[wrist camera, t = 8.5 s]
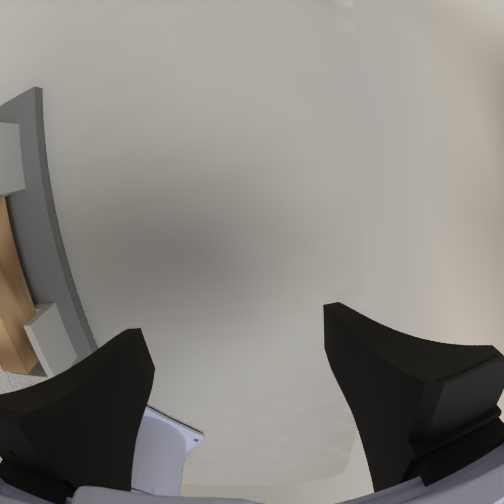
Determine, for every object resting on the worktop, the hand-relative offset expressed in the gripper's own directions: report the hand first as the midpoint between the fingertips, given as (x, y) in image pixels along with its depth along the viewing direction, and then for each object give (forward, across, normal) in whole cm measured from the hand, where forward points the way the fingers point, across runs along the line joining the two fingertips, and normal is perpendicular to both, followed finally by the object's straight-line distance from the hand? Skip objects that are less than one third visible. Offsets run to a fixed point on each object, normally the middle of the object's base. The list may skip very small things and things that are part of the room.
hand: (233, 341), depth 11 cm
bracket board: (+9, +18, -4) cm, 20 cm away
